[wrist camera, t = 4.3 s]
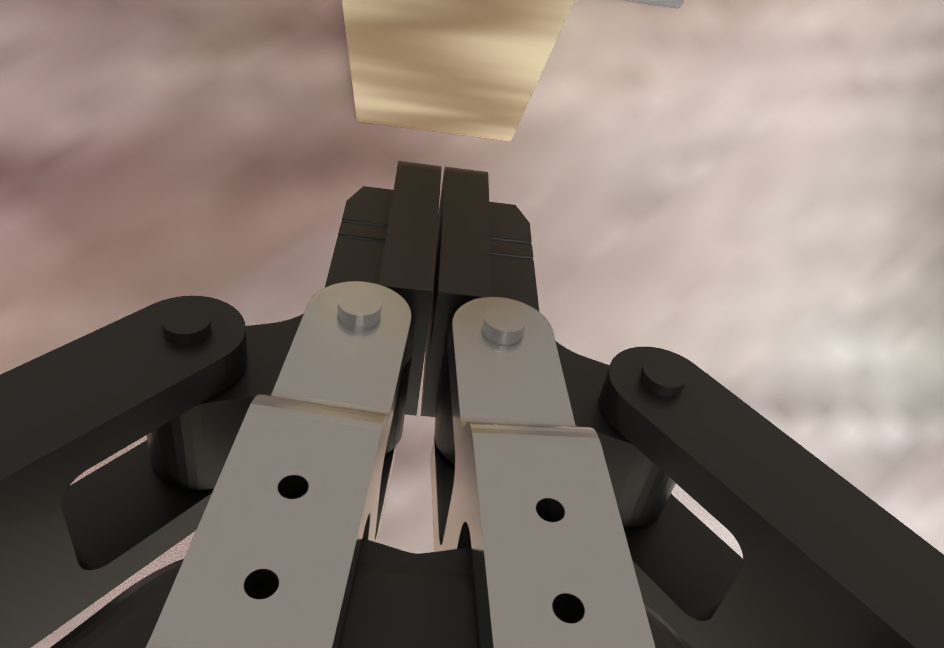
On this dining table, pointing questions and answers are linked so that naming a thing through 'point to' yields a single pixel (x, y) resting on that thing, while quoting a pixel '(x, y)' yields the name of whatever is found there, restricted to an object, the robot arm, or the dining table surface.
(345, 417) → the robot arm
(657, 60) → the dining table surface
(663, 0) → the felt mat
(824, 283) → the dining table surface
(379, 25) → the maple block
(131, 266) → the dining table surface
